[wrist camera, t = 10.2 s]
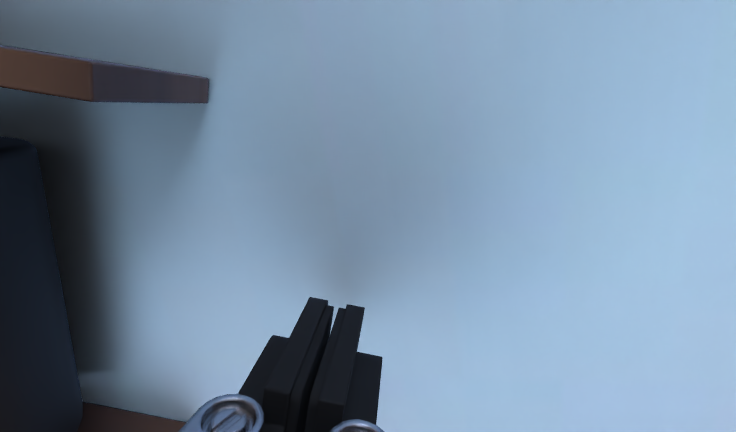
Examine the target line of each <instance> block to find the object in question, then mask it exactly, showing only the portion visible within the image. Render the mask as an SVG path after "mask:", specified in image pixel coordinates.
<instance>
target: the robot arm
mask: <svg viewBox="0 0 736 432" xmlns="http://www.w3.org/2000/svg"><path fill="white" fill-rule="evenodd" d="M364 309H365V308H364V307H358V306H353V305H348V304H347V306H346V309H343V308H339V309H338V312H337V315H336V319H335V322H334V325H333V328H332V331H331V334H330V330H331V323H332V317H333V310H334V307H333V306H328V300H323V299H318V298H312V297H310V298H309V300H308V302H307V304H306V305H305V307H304V309H303V311H302V313H301V315H300V317H299V319H298V321H297V323H296V325H295V327H294V329H293V331H292V333H291V335H290V337H289V338H285V337H280V336H275V335H273V336H272V337H271V338H270V340H269V341H268V343H267V345H266V346H265V348H264V350H263V352H262V353H261V355H260V357H259V358H258V360H257V362H256V364H255V365H254V367H253V369H252V371H251V372H250V374H249V376H248V377H247V379H246V381H245V383H244V384H243V386H242V388H241V389H240V391H239V393H238V394H227V395H223V396H219V397H216V398H214V399H212V400H210V401H208V402H206V403H205V404H204V405H203V406H202V407H200V408H199V409H198V410H197V412H196V413H195V414H194V415H193V416H192V417H191V418H190V419H189V420H188V421H187V423H186V424H185V425H184V426H183V427H182V428H181V429H180V430H179V431H178V432H384V431H383V430H382V429H381V428H379V427H378V426H377V425H376V420H377V410H378V399H379V389H380V378H381V368H382V357H380V356H375V355H370V354H365V353H360V352H357V348H358V342H359V337H360V331H361V326H362V320H363V315H364ZM329 336H330V337H329Z"/></svg>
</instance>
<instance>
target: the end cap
mask: <svg viewBox="0 0 736 432" xmlns="http://www.w3.org/2000/svg"><path fill="white" fill-rule="evenodd" d="M82 417H83V401H82V396H81V390H80V385H79V379H78V374H77V368H76V363H75V357H74V351H73V346H72V340H71V335H70V329H69V324H68V318H67V313H66V307H65V302H64V296H63V291H62V285H61V280H60V274H59V269H58V263H57V258H56V252H55V247H54V241H53V236H52V230H51V225H50V219H49V214H48V208H47V203H46V197H45V192H44V186H43V181H42V175H41V170H40V164H39V159H38V153H37V149H36V147H35V146H34V145H33V144H31V143H30V142H28V141H26V140H23V139H18V138H11V137H1V136H0V432H77V430H78V428H79V425H80V422H81V420H82Z"/></svg>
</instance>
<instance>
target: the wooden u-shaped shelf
mask: <svg viewBox="0 0 736 432" xmlns="http://www.w3.org/2000/svg"><path fill="white" fill-rule="evenodd" d="M0 87H3V88H9V89H15V90H22V91H28V92H34V93H40V94H46V95H52V96H58V97H64V98H70V99H77V100H83V101H89V102H131V103H208V88H209V79H208V78H205V77H199V76H193V75H187V74H180V73H174V72H168V71H161V70H155V69H149V68H142V67H136V66H130V65H124V64H117V63H111V62H105V61H98V60H92V59H86V58H79V57H73V56H67V55H60V54H54V53H48V52H42V51H35V50H29V49H23V48H16V47H10V46H4V45H0ZM185 424H186V422H181V421H176V420H171V419H166V418H161V417H156V416H151V415H146V414H141V413H136V412H131V411H126V410H121V409H116V408H111V407H106V406H101V405H96V404H91V403H86V402H83V417H82V420H81V422H80V425H79V428H78V430H77V432H178V431H179V430H180V429H181V428H182V427H183V426H184V425H185Z"/></svg>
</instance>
